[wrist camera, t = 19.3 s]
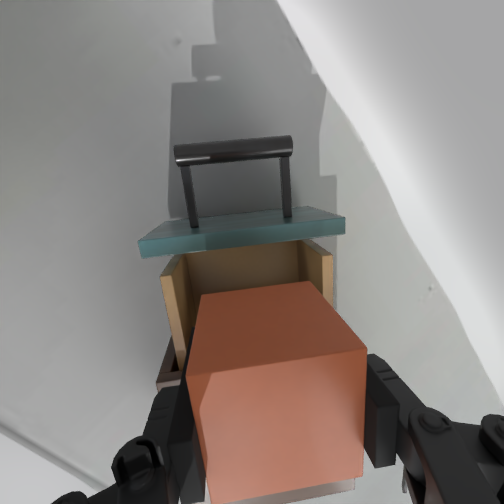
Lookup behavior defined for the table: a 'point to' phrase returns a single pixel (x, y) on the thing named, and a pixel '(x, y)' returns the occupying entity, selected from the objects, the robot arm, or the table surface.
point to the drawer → (238, 240)
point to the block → (276, 391)
